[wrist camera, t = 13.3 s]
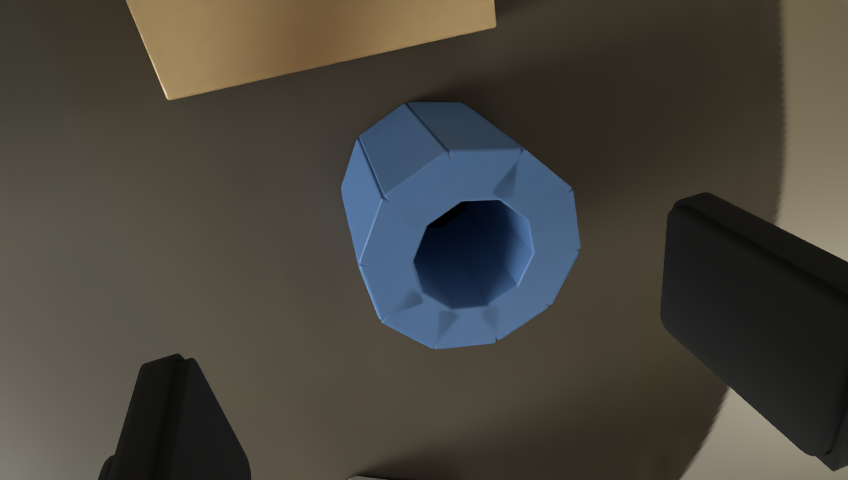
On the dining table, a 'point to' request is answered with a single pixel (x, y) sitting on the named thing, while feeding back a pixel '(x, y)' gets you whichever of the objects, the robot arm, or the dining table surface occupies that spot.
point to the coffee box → (363, 478)
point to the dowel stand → (286, 35)
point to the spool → (456, 225)
